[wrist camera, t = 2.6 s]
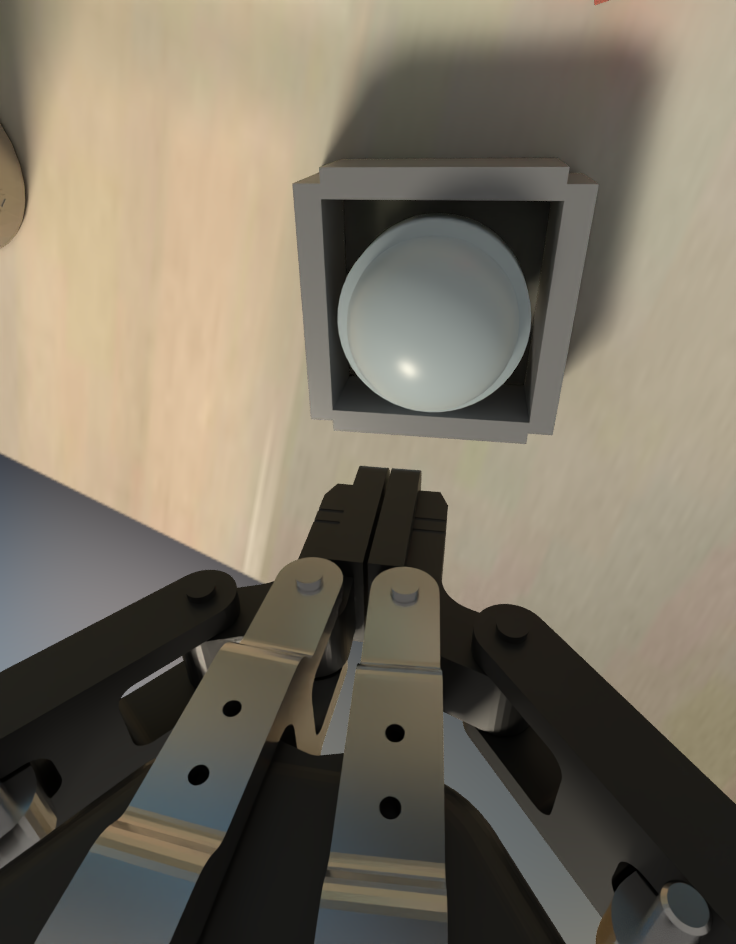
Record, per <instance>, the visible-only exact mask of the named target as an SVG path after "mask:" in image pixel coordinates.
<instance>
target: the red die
mask: <svg viewBox="0 0 736 944" xmlns="http://www.w3.org/2000/svg"><path fill="white" fill-rule="evenodd" d="M606 1H609V0H594V4H595V5H597V4H600V3H603V2H606Z"/></svg>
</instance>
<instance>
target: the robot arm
mask: <svg viewBox="0 0 736 944" xmlns="http://www.w3.org/2000/svg"><path fill="white" fill-rule="evenodd" d="M24 208H25V187H24V181H23V176H22V172H21V168H20V164H19V161H18V159H17V156H16V153H15V151H14V148H13V146H12V143H11V142H10V140H9V138H8V136H7V134H6V133H5V131H4V129H3V127H2V126H1V124H0V248H2V247H4V246H5V245H7V244H8V243H9V242H10V241H11V240H12V239H13V237H14V236H15V235H16V234H17V232H18V230H19V227H20V225H21V223H22V220H23V215H24ZM447 511H448V505H447V503H446V501H445V500H444V498H443V496H442V494H441V492H431V491H421V471H420V470H407V469H395V468H392V470H391V474H390V470H389V468H381V467H368V466H360V467H359V469H358V472H357V475H356V478H355V481H354V484H353V485H347V484H337V485H336V486H334V487H333V488H332V489H331V490H330V491H329V492H327V493H326V494H325V495H324V498H323V500H322V503H321V505H320V507H319V511H318V512H317V515H316V517H315V522H313V525H312V527H311V529H310V532H309V534H308V537H307V539H306V542H305V544H304V546H303V549H302V551H301V554H300V556H299V559H298V560H295V561H293V562H291V563H289V564H288V565H286V566H285V567H284V568H283V569H282V570H281V571H280V572H279V574H278V575H277V577H276V579H275V581H273V582H270V583H266V584H261V585H255V586H247V587H241V588H237V586H236V583H235V580H234V579H233V578H232V577H231V576H230V575H229V574H227V573H225V572H222V571H217V570H203V571H198V572H195V573H191V574H189V575H187V576H185V577H183V578H181V579H179V580H177V581H175V582H173V583H171V584H169V585H167V586H165V587H164V588H162V589H160V590H158V591H156V592H154V593H152V594H150V595H148V596H146V597H145V598H142V599H141V600H138V601H137V602H135V603H133V604H131V605H129V606H127V607H125V608H123V609H121V610H119V611H117V612H115V613H113V614H112V615H110V616H108V617H106V618H104V619H102V620H100V621H98V622H96V623H94V624H92V625H90V626H88V627H87V628H85V629H83V630H81V631H79V632H77V633H75V634H73V635H71V636H69V637H67V638H65V639H63V640H62V641H59V642H58V643H56V644H54V645H52V646H50V647H48V648H46V649H44V650H42V651H41V652H38V653H37V654H34V655H32V656H31V657H29V658H27V659H25V660H23V661H21V662H19V663H17V664H15V665H13V666H11V667H9V668H7V669H6V670H4V671H2V672H0V944H566V943H565V942H564V940H563V939H562V937H561V935H560V934H559V932H558V931H557V929H556V927H555V926H554V924H553V923H552V921H551V920H550V918H549V917H548V915H547V913H546V912H545V910H544V909H543V907H542V905H541V904H540V903H539V901H538V899H537V898H536V896H535V894H534V893H533V891H532V890H531V888H530V886H529V885H528V883H527V882H526V880H525V879H524V877H523V875H522V874H521V872H520V871H519V869H518V868H517V866H516V864H515V863H514V861H513V860H512V858H511V857H510V855H509V853H508V852H507V850H506V849H505V847H504V846H503V844H502V843H501V841H500V839H499V838H498V836H497V834H496V833H495V831H494V830H493V828H492V827H491V825H490V824H489V823H488V822H487V820H486V819H485V818H484V817H483V815H482V814H481V813H480V812H479V811H478V810H477V809H476V808H475V807H474V806H473V805H472V804H471V803H470V802H469V801H468V800H467V799H465V798H464V797H463V796H462V795H460V794H459V793H458V792H457V791H455V790H454V789H452V788H450V787H449V786H447V785H445V784H444V758H443V757H444V752H443V750H444V748H443V712H445V713H447V714H449V715H451V716H453V717H456V718H458V719H460V720H462V721H463V726H464V729H465V731H466V733H467V735H468V736H469V738H470V739H471V740H472V742H473V743H474V744H475V746H476V747H477V748H478V750H479V751H480V753H481V754H482V755H483V756H484V758H485V759H486V761H487V762H488V763H489V765H490V766H491V767H492V769H493V770H494V772H495V773H496V774H497V776H498V777H499V778H500V780H501V781H502V782H503V784H504V785H505V787H506V788H507V789H508V791H509V792H510V793H511V795H512V796H513V797H514V799H515V800H516V801H517V803H518V804H519V806H520V807H521V808H522V810H523V811H524V812H525V814H526V815H527V816H528V818H529V819H530V821H531V822H532V823H533V825H534V826H535V827H536V828H537V830H538V831H539V833H540V834H541V835H542V837H543V838H544V840H545V841H546V842H547V844H548V845H549V846H550V848H551V849H552V850H553V852H554V853H555V855H556V856H557V857H558V859H559V860H560V861H561V863H562V864H563V865H564V867H565V868H566V870H567V871H568V872H569V874H570V875H571V876H572V878H573V879H574V880H575V882H576V883H577V885H578V886H579V887H580V889H581V890H582V891H583V893H584V894H585V895H586V897H587V898H588V899H589V901H590V902H591V904H592V905H593V906H594V907H595V909H596V910H597V912H598V913H599V914H600V916H601V917H602V919H601V921H600V923H599V926H598V929H597V933H596V944H736V804H735V803H734V802H733V801H732V800H731V799H730V798H729V797H728V796H727V795H725V794H724V793H723V792H722V791H721V790H720V789H719V788H718V787H717V786H716V785H715V784H714V783H713V782H712V781H711V780H710V779H709V778H708V777H707V776H706V775H704V774H703V773H702V772H701V771H700V770H699V769H698V768H697V767H696V766H695V765H694V764H693V763H692V762H691V761H690V760H689V759H688V758H687V757H686V756H685V755H683V754H682V753H681V752H680V751H679V750H678V749H677V748H676V747H675V746H674V745H673V744H672V743H671V742H670V741H669V740H668V739H667V738H666V737H665V736H664V735H663V734H661V733H660V732H659V731H658V730H657V729H656V728H655V727H654V726H653V725H652V724H651V723H650V722H649V721H648V720H647V719H646V718H645V717H644V716H643V715H642V714H640V713H639V712H638V711H637V710H636V709H635V708H634V707H633V706H632V705H631V704H630V703H629V702H628V701H627V700H626V699H625V698H624V697H623V696H622V695H621V694H619V693H618V692H617V691H616V690H615V689H614V688H613V687H612V686H611V685H610V684H609V683H608V682H607V681H606V680H605V679H604V678H603V677H602V676H601V675H600V674H598V673H597V672H596V671H595V670H594V669H593V668H592V667H591V666H590V665H589V664H588V663H587V662H586V661H585V660H584V659H583V658H582V657H581V656H580V655H579V654H578V653H576V652H575V651H574V650H573V649H572V648H571V647H570V646H569V645H568V644H567V643H566V642H565V641H564V640H563V639H562V638H561V637H560V636H559V635H558V634H557V633H555V632H554V631H553V630H552V629H551V628H550V627H549V626H548V625H547V624H546V623H545V622H544V621H543V620H542V619H541V618H540V617H538V616H537V615H536V614H535V613H533V612H531V611H530V610H528V609H526V608H523V607H520V606H516V605H511V604H498V605H493V606H490V607H488V608H486V609H484V610H483V611H481V612H480V613H479V612H476V611H473V610H471V609H468V608H466V607H464V606H462V605H460V604H458V603H457V602H455V601H454V600H453V599H452V598H451V597H450V596H449V595H448V594H447V593H446V591H445V590H444V588H443V585H442V573H443V562H444V550H445V537H446V524H447ZM352 641H360V642H363V649H362V657H361V663H360V664H359V663H358V664H357V667H356V672H355V679H354V686H353V693H352V701H351V708H350V714H349V722H348V729H347V736H346V743H345V750H344V753H341V754H331V755H321V750H322V745H323V742H324V739H325V736H326V733H327V730H328V727H329V724H330V721H331V718H332V715H333V712H334V709H335V706H336V703H337V700H338V697H339V694H340V691H341V688H342V685H343V682H344V679H345V676H346V673H347V667H348V664H347V660H348V657H349V653H350V649H351V645H352ZM181 656H182V657H183V660H184V661H183V662H181V663H179V664H178V665H176V666H174V667H173V668H171V669H169V670H168V671H166V672H164V673H163V674H161V675H160V676H158V677H156V678H155V679H153V680H151V681H150V682H148V683H146V684H145V685H144V686H142V687H140V688H139V689H137V690H135V691H133V692H132V693H130V694H129V695H127V696H125V697H123V698H121V697H122V695H123V694H124V693H125V692H126V691H127V690H128V689H129V688H130V687H131V686H133V685H134V684H136V683H137V682H139V681H141V680H143V679H144V678H146V677H148V676H149V675H151V674H152V673H154V672H156V671H157V670H159V669H161V668H162V667H164V666H166V665H168V664H169V663H170V662H173V661H174V660H176V659H177V658H179V657H181Z"/></svg>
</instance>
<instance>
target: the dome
mask: <svg viewBox="0 0 736 944" xmlns="http://www.w3.org/2000/svg"><path fill="white" fill-rule="evenodd" d="M530 327H531V305H530V300H529V295H528V290H527V286H526V282H525V277H524V274H523V272H522V269H521V266H520V264H519V262H518V260H517V258H516V256H515V254H514V253H513V252H512V250H511V249H510V248H509V246H508V245H507V244H506V243H505V242H504V241H503V239H502V238H501V237H500V236H499V235H497V234H496V233H495V232H494V231H492V230H491V229H490V228H488V227H487V226H485V225H483V224H481V223H479V222H478V221H475V220H473V219H470V218H467V217H464V216H460V215H456V214H449V213H429V214H423V215H418V216H414V217H411V218H408V219H405V220H403V221H401V222H399V223H397V224H395V225H393V226H391V227H390V228H388V229H387V230H386V231H384V232H383V233H381V234H380V235H379V236H378V237H377V238H376V239H375V240H374V241H373V242H372V243H371V244H370V245H369V247H368V248H367V249H366V250H365V252H364V253H363V254H362V255H361V257H360V258H359V259H358V260H357V261H356V263H355V264H354V266H353V267H352V269H351V271H350V272H349V274H348V276H347V278H346V281H345V283H344V285H343V288H342V292H341V295H340V299H339V306H338V330H339V336H340V340H341V345H342V348H343V350H344V353H345V355H346V358H347V359H348V361H349V363H350V365H351V367H352V368H353V370H354V371H355V373H356V374H357V375H358V377H359V378H360V379H361V380H362V381H363V382H364V383H365V384H366V385H367V386H368V387H369V388H370V389H371V390H372V391H374V392H375V393H376V394H378V395H379V396H381V397H382V398H384V399H386V400H387V401H389V402H391V403H393V404H396V405H398V406H401V407H404V408H407V409H411V410H415V411H423V412H444V411H452V410H456V409H460V408H464V407H466V406H469V405H472V404H474V403H476V402H478V401H480V400H482V399H484V398H485V397H487V396H488V395H490V394H491V393H493V392H494V391H495V390H497V389H498V388H499V387H500V386H501V385H502V384H503V383H504V382H505V381H506V380H507V379H508V378H509V377H510V375H511V374H512V373H513V371H514V370H515V368H516V367H517V365H518V364H519V362H520V360H521V358H522V356H523V354H524V351H525V348H526V345H527V343H528V338H529V334H530Z"/></svg>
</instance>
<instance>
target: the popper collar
mask: <svg viewBox="0 0 736 944" xmlns="http://www.w3.org/2000/svg"><path fill="white" fill-rule="evenodd" d="M569 168H570V167H569V166H568V165H566V164H565V163H564V162H562V161H561V160H560V159H558V158H417V159H340V160H337V161H335V162H332V163H329V164H327V165H324V166H322V167H319V173H317V174H314V175H312V176H309V177H307V178H305V179H302V180H300V181H297V182H295V183H292V184H293V197H294V210H295V222H296V235H297V248H298V261H299V273H300V286H301V299H302V311H303V324H304V337H305V349H306V362H307V375H308V387H309V400H310V413H311V419H318V420H333V429H334V431H348V432H362V433H376V434H391V435H405V436H419V437H434V438H448V439H462V440H477V441H491V442H505V443H520V444H526V442H527V435H528V434H542V435H553V430H554V425H555V419H556V414H557V408H558V403H559V398H560V392H561V387H562V381H563V376H564V371H565V365H566V360H567V354H568V349H569V344H570V338H571V333H572V327H573V322H574V316H575V311H576V306H577V300H578V295H579V289H580V284H581V279H582V273H583V268H584V262H585V257H586V251H587V246H588V241H589V235H590V230H591V224H592V219H593V214H594V208H595V203H596V197H597V192H598V187H599V184H598V183H596V182H595V181H593V180H592V179H591V178H589V177H588V176H586V175H585V174H583V173H569ZM343 199H349V200H498V201H551V205H550V211H549V218H548V225H547V232H546V239H545V246H544V253H543V260H542V266H541V273H540V280H539V287H538V294H537V301H536V308H535V314H534V321H533V328H532V335H531V342H530V349H529V356H528V363H527V369H526V376H525V383H524V386H521V385H503V384H502V385H501V386H500V387H499V388H498V389H497V390H495V391H494V392H493V393H491V394H490V395H488V396H487V397H485V398H484V399H482V400H480V401H478V402H476V403H474V404H472V405H469V406H466V407H464V408H460V409H456V410H452V411H444V412H423V411H415V410H411V409H407V408H404V407H401V406H398V405H396V404H393V403H391V402H389V401H387V400H386V399H384V398H382V397H381V396H379V395H378V394H376V393H375V392H374V391H372V390H371V389H370V388H369V387H368V386H367V385H366V384H365V383H364V382H363V381H362V380H361V379H360V378H359V377H357V376H349V361H348V359H347V358H346V355H345V353H344V350H343V348H342V345H341V340H340V336H339V330H338V306H339V299H340V295H341V292H342V288H343V285H344V283H345V281H346V266H345V238H344V210H343Z"/></svg>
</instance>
